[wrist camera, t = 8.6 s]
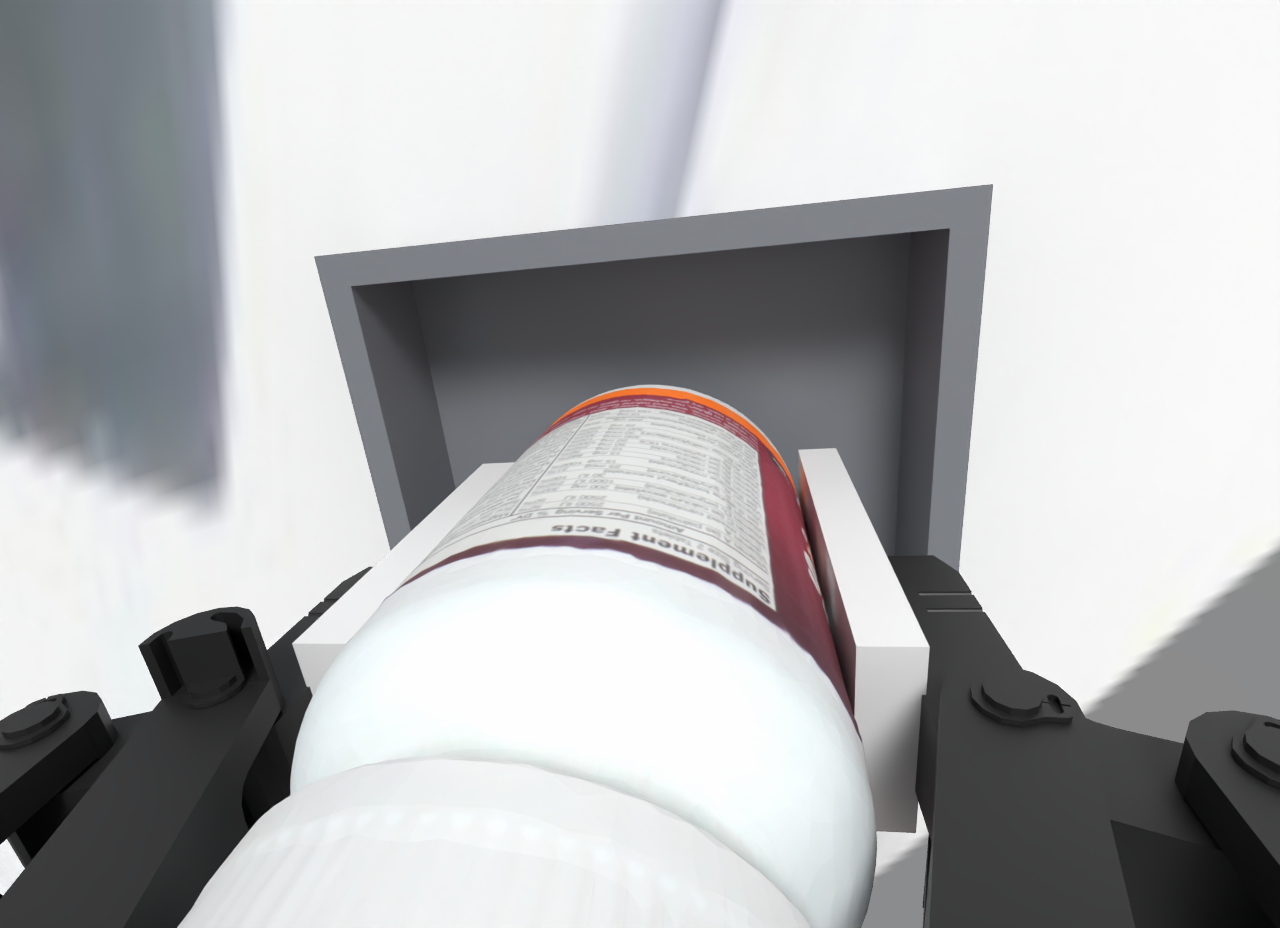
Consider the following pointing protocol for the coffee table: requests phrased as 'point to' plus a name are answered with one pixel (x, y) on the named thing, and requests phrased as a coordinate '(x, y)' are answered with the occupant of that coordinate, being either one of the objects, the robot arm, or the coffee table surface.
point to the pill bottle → (584, 709)
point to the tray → (683, 344)
